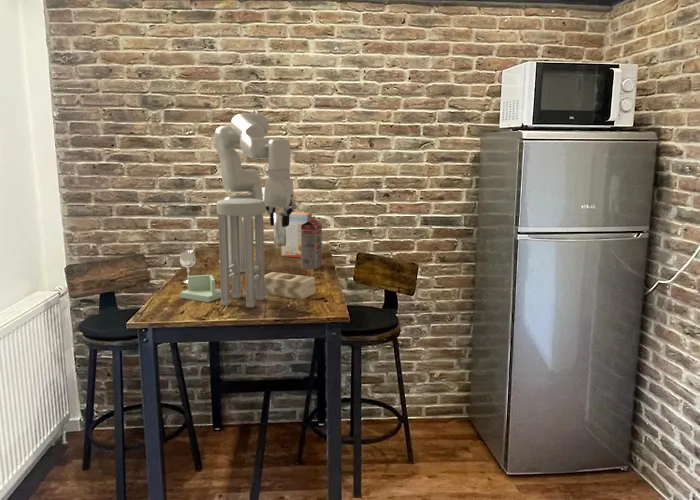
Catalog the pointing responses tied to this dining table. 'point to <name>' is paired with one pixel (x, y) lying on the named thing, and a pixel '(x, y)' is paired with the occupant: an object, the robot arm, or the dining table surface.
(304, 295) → the beige block with hole
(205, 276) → the v-block
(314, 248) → the juice carton
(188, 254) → the wineglass
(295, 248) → the cracker box
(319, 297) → the dining table surface
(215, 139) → the robot arm
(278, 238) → the steel axle
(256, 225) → the stool
